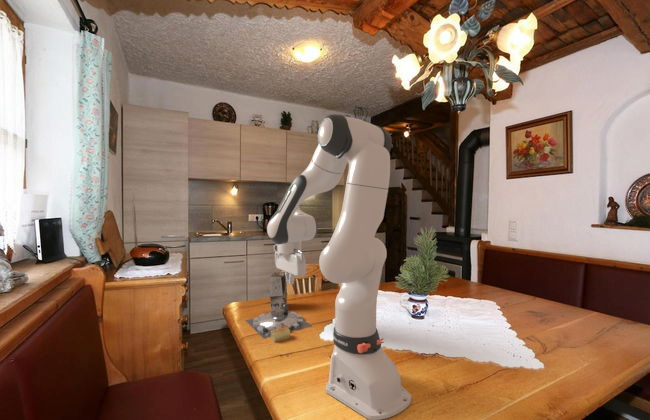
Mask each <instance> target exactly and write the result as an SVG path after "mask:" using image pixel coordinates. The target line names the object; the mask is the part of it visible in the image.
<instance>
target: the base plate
mask: <svg viewBox="0 0 650 420" xmlns="http://www.w3.org/2000/svg"><path fill="white" fill-rule="evenodd" d="M290 312H292V311H291V310H288V313H290ZM254 318H255V317H254ZM254 318H250V319H245V322H246V323H247V324H248V325H249V326H250V327H251V328H252V329H253V330H254V331H255V332H256V333H257V334H258V335H259V336H260V337H261V338H262V339H268V338H271V333H268V331H264V332H260V331H257V328H254V327H253V319H254ZM312 327H313V325H312V324H311V323H309V322H307V321H306V320H305V319H303V324H302V325H299V328H298V329H296V330H293V329H290V333H291V332H296V331H299V330H304V329H308V328H312Z"/></svg>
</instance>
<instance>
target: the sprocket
mask: <svg viewBox="0 0 650 420" xmlns="http://www.w3.org/2000/svg"><path fill="white" fill-rule="evenodd" d="M288 311H289V303H287V304H283V311H269V312H268V313H261V314H259V315H258V317H256V316H255V317H254V319H253V318H252V319H253V327H254V328H257V331H260V332H264V331H268V333H271V331H272V330H276V329H279V328H284V327H287V328H288V329H293V330H296V329H298V328H299V325H302V324H303V320H304V319H303V316H302V315H301V314H297V312H296V311H291V312H290V313H288ZM296 331H297V330H296Z"/></svg>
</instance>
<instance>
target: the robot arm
mask: <svg viewBox="0 0 650 420" xmlns="http://www.w3.org/2000/svg"><path fill="white" fill-rule="evenodd" d="M317 142H318V145H317V146H316V148H315V150H314V153H313V155H312V157H311V160H310V162H309V164H308V165H307V167H306V168H305V169H304V171H303V172H302V173H301V174H299V175H297V176H296V177H295V178H294V179H293V181H292V182H291V184H290V186H289V187H288V189H287V190H286V192H285V195H284V197H283V198H282V200H281V201H280V204H279V205H278V207H277V209H276V211H275V212H274V214H273V215H272V216H271V218H269V221H268V223H267V225H266V234H267V237H268V239H270V241H272V242H273V243H274V245H273V250H274V263H275V267H276V268H277V269H278V270H280V271H283V272H285V276H286V279H287V285H288V284H289V285H294V284H295V278H296V277H305V276H306V275H307V263H306V257H305V255H304V253H303V251H302V242H305V241H310V240H311V241H312V240H313V239H314V238H315V237H316V236H317V234H318V230H319V227H318V226H319V225H318V222H317V220H316V218H315V216H314V215H312V214H311V215H310V214H309V213H306V212H304V211H302V209H301V208H300V205H301V204H302V202H304V201H305V200H306V199H308V198H311V197H313V196H315V195H320V194H322V193H327V192H329V191H331V190H333V189H335V187H336V186H337V185H338V184H339V182H340V180H341V179H342V176H343V174H344V172H345V169H346V167H347V165H348V172H347V177H346V184H345V188H344V190H345V191H344V195H343V200H342V207H341V211H340V215H339V219H338V221H337V223H336V226H335V228H334V232H333V233H332V235H331V238H330V240H329V242H328V243H327V245H326V246H325V247H324V248H323V249H322V251H321V252H320V255H319V260H318V265H319V270H320V272H321V274H322V276H323V277H324V278H325V279H326V280H327V281H328V282H331V283H333V284H341V285H340V289H339V292H338V293H337V294H336V298H335V302H334V322H335V323H334V327H333V333H332V338H333V344H334V347H333V350H332V353H331V357H330V362H329V374H328V381H327V384H326V386H325V392H326V393H327V394H328V395H329V396H331V397H333V398H335V400H338V401H339V402H341V403H342V404H344V405H345V406H347V407H349V408H350V409H352V410H353V411H355V412H356V413H358V414H360V415H361V416H363V417H364V418H366V419H368V420H385V419H389V418H392V417H394V416H396V415H398V414H399V413H401V412H403V411H405V410H406V409H407V408H408V407H409V406H410V405H411V403H412V394H411V393H410V392H409V391H408V390H406V389H405V388H404V387H403V386H402V379H401V375H400V372H399V370H398V369H397V365H396V363H395V361H393V360H391V359H390V358H389V356H388V354H387V353H386V352H385V351H384V349H383V347H382V344H383V343H385V341H384V340H385V338H380V334H379V330H378V329H377V303H378V302H377V301H378V293H379V289H380V283H381V279H382V272H383V267H384V264H385V262H386V259H387V257H388V256H387V255H388V254H387V248H386V245H385V244H384V242H383V241H382V240H381V239H379V238H378V237H375V236H376V234H377V230H378V228H379V227H380V225H381V223H382V222H383V220H384V217H385V211H386V210H385V209H386V204H387V198H388V193H389V186H390V177H391V154H390V152H391V149H392V144H393V143H392V142H393V140H392V136H391V133H390V132H389V131H388V130H387V129H385V128H383V126H380V125H375V124H373V123H370V122H368V121H365V120H363V119H360V118H356V117H352V116H344V115H343V114H338V113H337V114H329V115H327V116H326V117H324V118H323V120H322V121H321V123H320V125H319V127H318V132H317Z"/></svg>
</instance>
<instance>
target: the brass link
mask: <svg viewBox="0 0 650 420" xmlns="http://www.w3.org/2000/svg"><path fill="white" fill-rule="evenodd" d="M290 338H291V332H290V329H288V328H287V327H284V328H279V329H276V330H272V331H271V337H270V340H271V341H272V342H273V343H276V342H280V341H281V342H282V341H284V340H288V339H290Z"/></svg>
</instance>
